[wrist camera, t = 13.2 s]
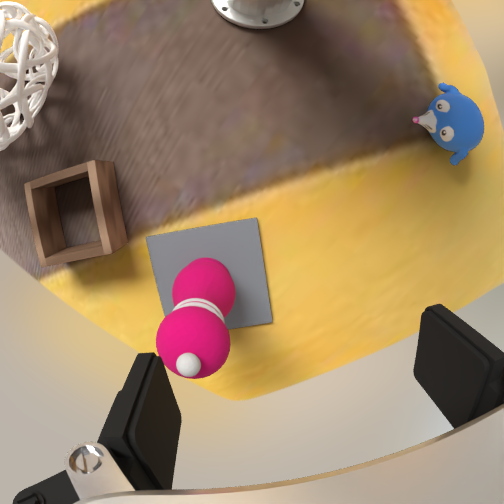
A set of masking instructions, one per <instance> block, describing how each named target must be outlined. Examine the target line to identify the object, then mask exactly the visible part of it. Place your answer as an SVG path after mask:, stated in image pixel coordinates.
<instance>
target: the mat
mask: <svg viewBox="0 0 504 504" xmlns="http://www.w3.org/2000/svg"><path fill="white" fill-rule="evenodd" d="M146 241H147V246H148V250H149V255H150V259H151V263H152V268H153V272H154V276H155V280H156V284H157V288H158V292H159V296H160V300H161V304H162V307H163V311H164V315H165V317H166V316H167V315H168V314H170V313H171V312H172V311H173V309H174V308H175V306H174V303H173V299H172V288H173V284H174V281H175V278H176V277H177V275H178V274H179V272H180V271H181V270H182V269H183V268H185V267H186V266H188V264H190V263H191V262H192V261H194V260H196V259H199V258H205V257H207V258H213V259H216V260H218V261H220V262H221V263H222V264H224V266H225V267H226V268H227V269H228V271H229V273H230V276H231V278H232V280H233V282H234V285H235V291H236V293H235V301H234V305H233V307H232V309H231V311H230V312H229V314H228V315H227V316H226V317H225V318H224V322H225V325H226V327H227V329H234V328H240V327H246V326H252V325H258V324H264V323H270V322H272V316H271V309H270V302H269V296H268V289H267V282H266V275H265V269H264V262H263V256H262V249H261V242H260V236H259V229H258V223H257V218H250V219H244V220H238V221H232V222H226V223H220V224H215V225H209V226H203V227H197V228H192V229H186V230H181V231H175V232H170V233H164V234H159V235H153V236H148V237H146Z"/></svg>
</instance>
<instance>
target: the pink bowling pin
mask: <svg viewBox="0 0 504 504" xmlns="http://www.w3.org/2000/svg"><path fill="white" fill-rule="evenodd" d="M235 293H236V291H235V285H234V282H233V280H232V278H231V276H230V273H229V271H228V269H227V268H226V267H225V266H224V264H222V263H221V262H220V261H218V260H216V259H213V258H207V257H205V258H199V259H196V260H194V261H192V262H191V263H190V264H188V266H186V267H185V268H183V269H182V270H181V271H180V272H179V274H178V275H177V277H176V278H175V281H174V284H173V288H172V299H173V303H174V306H175V308H174V309H173V311H172V312H171V313H170V314H168V315H167V316H166V317H165V318H164V320H163V321H162V322H161V324H160V326H159V329H158V332H157V336H156V347H157V351H158V354H159V356H160V357H161V358H162V360H163V363H164V365H165V366H166V367H167V368H168V369H169V370H171V371H172V372H174V373H175V374H177V375H179V376H182V377H185V378H192V379H197V378H204V377H207V376H210V375H211V374H213V373H215V372H216V371H218V370H219V369H220V368H221V367H222V365H223V364H224V363H225V361H226V359H227V357H228V354H229V351H230V336H229V332H228V329H227V327H226V325H225V322H224V318H225V317H226V316H227V315H228V314H229V312H230V311H231V309H232V307H233V305H234V301H235Z"/></svg>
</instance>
